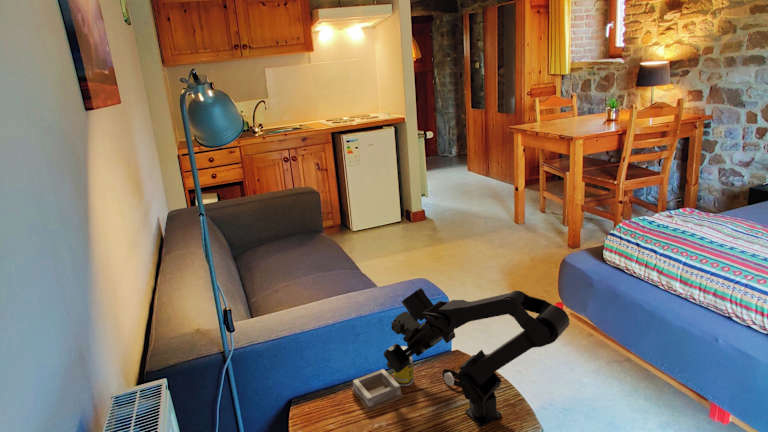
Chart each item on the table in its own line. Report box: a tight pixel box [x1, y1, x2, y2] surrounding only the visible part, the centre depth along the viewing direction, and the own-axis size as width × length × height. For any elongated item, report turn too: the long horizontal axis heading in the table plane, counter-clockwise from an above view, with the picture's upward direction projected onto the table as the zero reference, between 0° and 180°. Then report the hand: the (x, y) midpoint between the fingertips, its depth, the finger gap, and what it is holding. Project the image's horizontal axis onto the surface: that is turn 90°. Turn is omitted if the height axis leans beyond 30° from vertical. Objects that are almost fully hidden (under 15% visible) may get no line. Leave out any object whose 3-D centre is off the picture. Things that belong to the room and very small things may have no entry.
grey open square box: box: [351, 368, 404, 412], centre depth 131 cm, size 10×10×4 cm
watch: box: [442, 368, 461, 388], centre depth 134 cm, size 8×5×4 cm, turn 33°
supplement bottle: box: [393, 345, 415, 387], centre depth 135 cm, size 5×5×10 cm
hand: (398, 358), depth 136 cm, fingers open, 9 cm apart
